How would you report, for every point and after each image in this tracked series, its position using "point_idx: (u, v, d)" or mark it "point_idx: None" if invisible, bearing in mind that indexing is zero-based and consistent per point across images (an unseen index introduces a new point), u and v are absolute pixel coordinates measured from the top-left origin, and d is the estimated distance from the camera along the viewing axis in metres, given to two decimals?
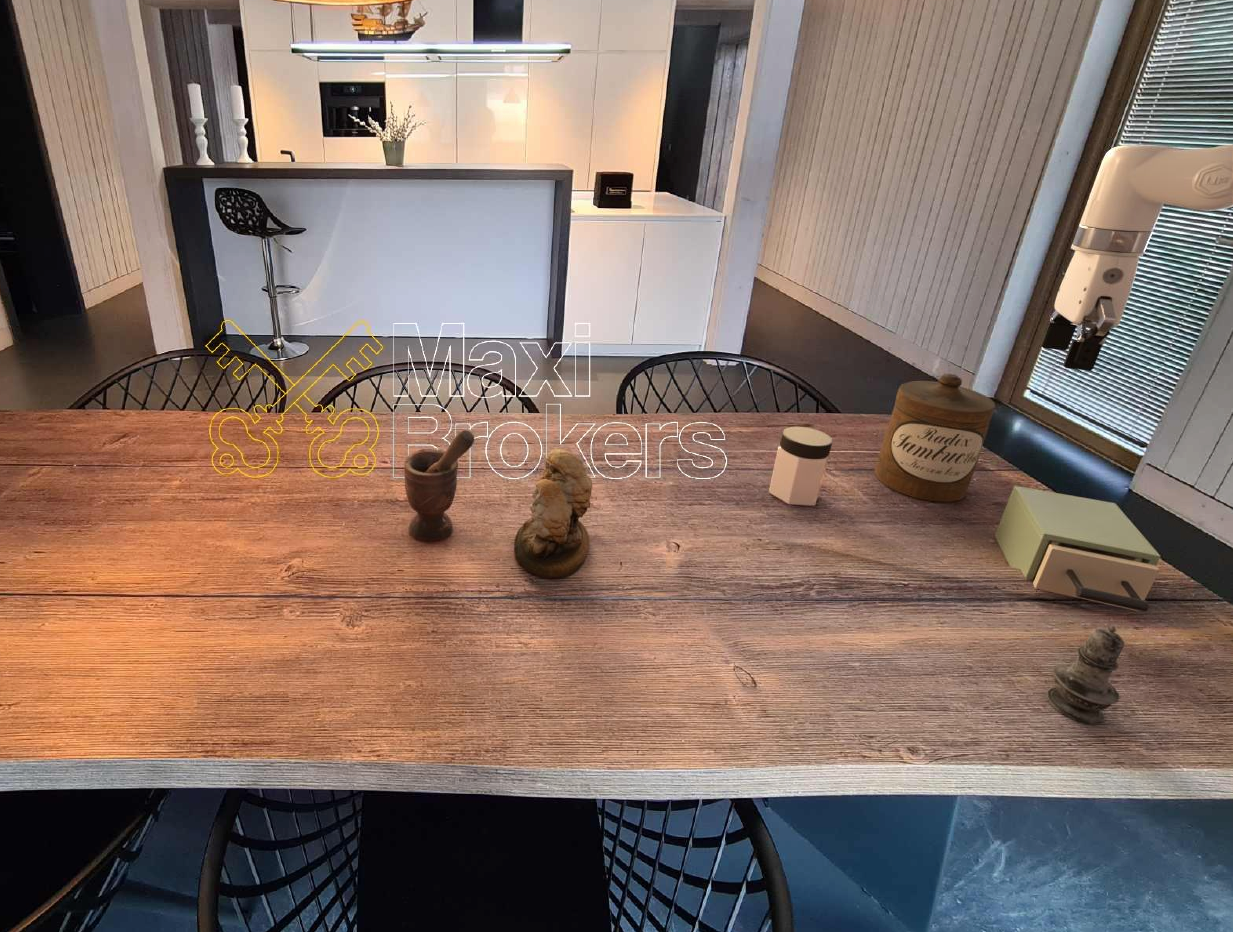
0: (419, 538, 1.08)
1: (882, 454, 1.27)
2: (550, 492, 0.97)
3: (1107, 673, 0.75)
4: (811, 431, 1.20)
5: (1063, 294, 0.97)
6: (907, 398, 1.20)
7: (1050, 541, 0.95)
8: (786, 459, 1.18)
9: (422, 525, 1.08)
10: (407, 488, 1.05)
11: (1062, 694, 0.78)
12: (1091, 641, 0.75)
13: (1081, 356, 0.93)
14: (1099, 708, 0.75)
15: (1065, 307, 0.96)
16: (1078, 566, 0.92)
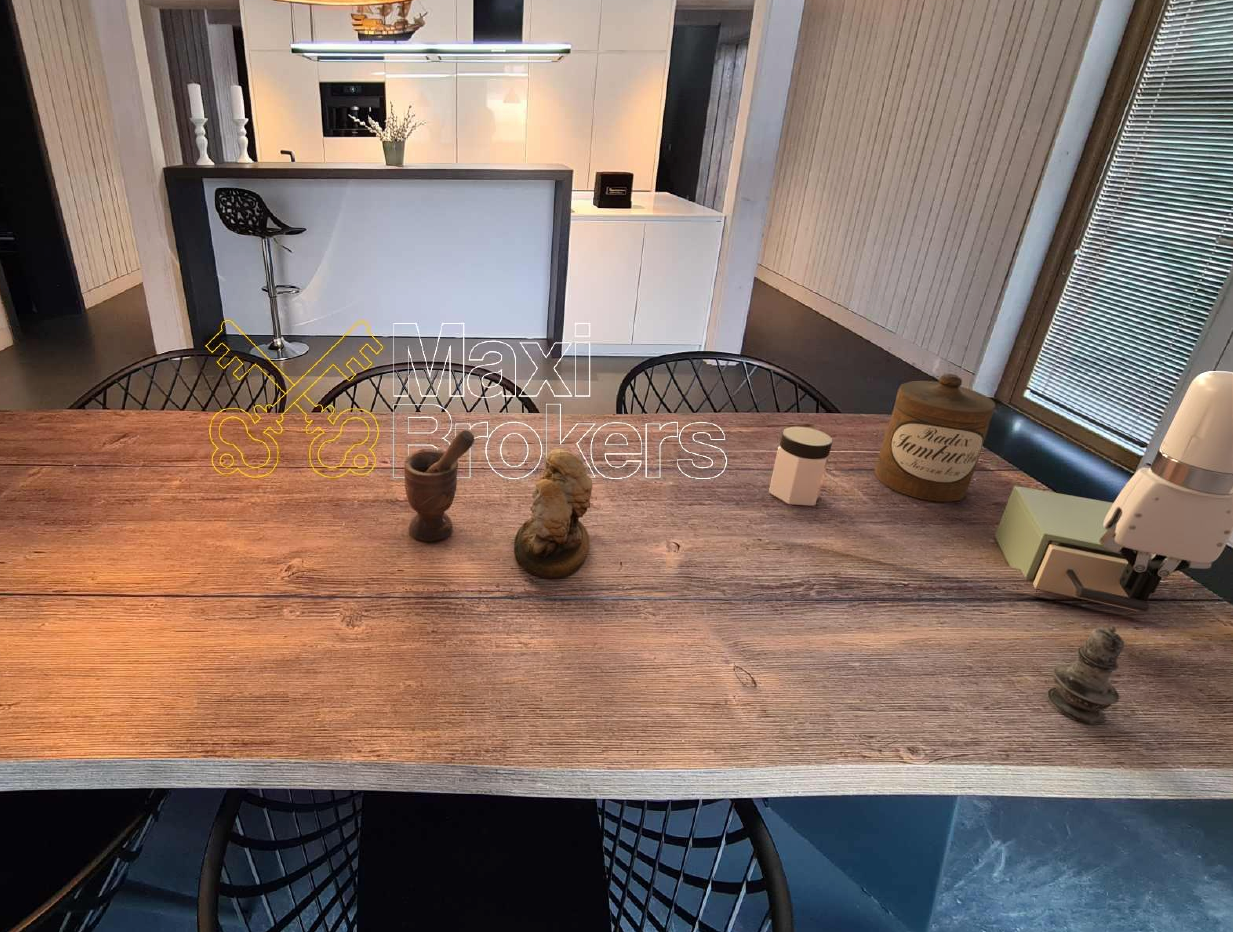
0: (419, 538, 1.08)
1: (882, 454, 1.27)
2: (550, 492, 0.97)
3: (1107, 673, 0.75)
4: (811, 431, 1.20)
5: (1158, 534, 0.83)
6: (907, 398, 1.20)
7: (1050, 541, 0.95)
8: (786, 459, 1.18)
9: (422, 525, 1.08)
10: (407, 488, 1.05)
11: (1062, 694, 0.78)
12: (1091, 641, 0.75)
13: (1155, 585, 0.86)
14: (1099, 708, 0.75)
15: (1172, 548, 0.83)
16: (1078, 566, 0.92)
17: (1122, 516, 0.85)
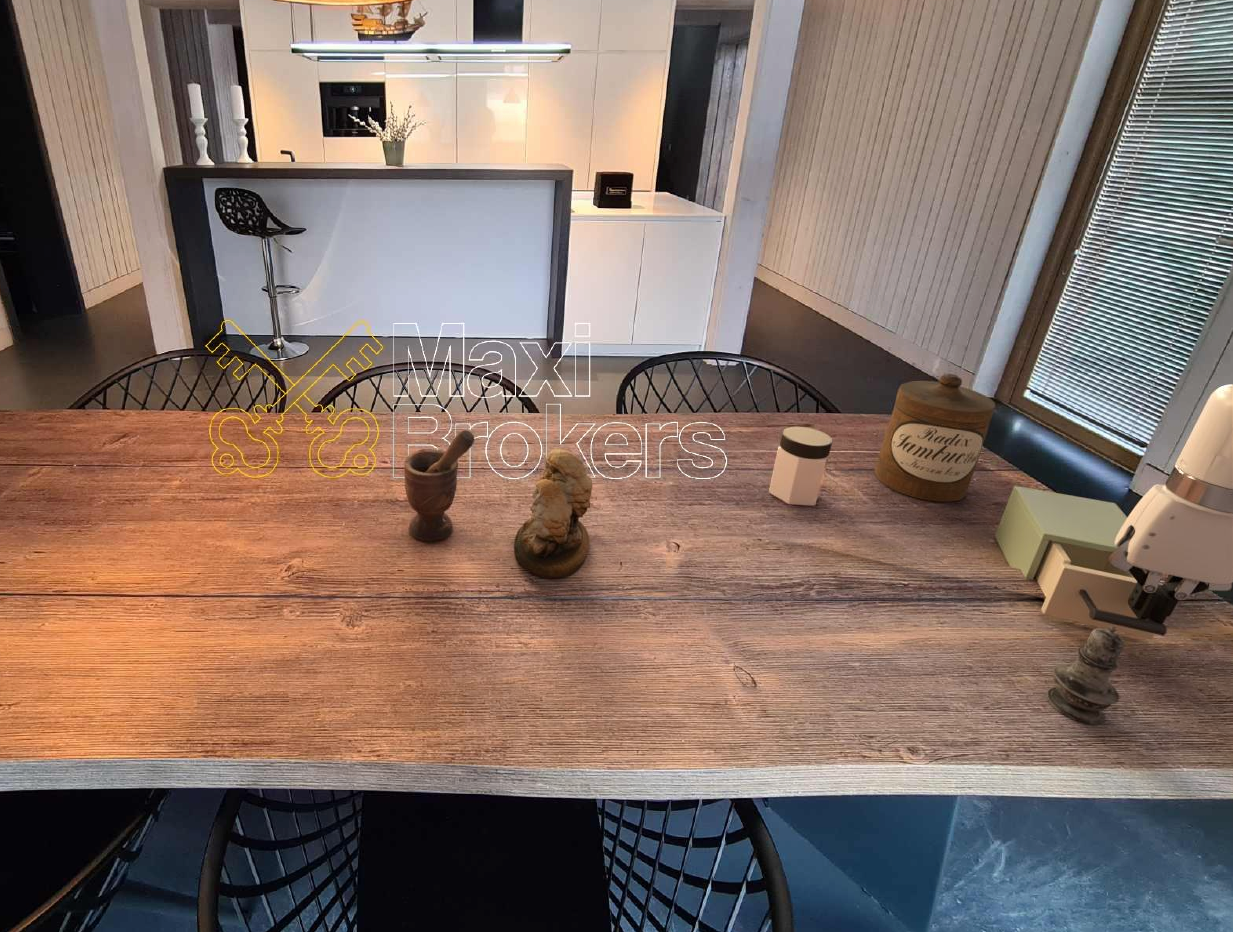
0: (419, 538, 1.08)
1: (882, 454, 1.27)
2: (550, 492, 0.97)
3: (1107, 673, 0.75)
4: (811, 431, 1.20)
5: (1173, 554, 0.79)
6: (907, 398, 1.20)
7: (1062, 559, 0.91)
8: (786, 459, 1.18)
9: (422, 525, 1.08)
10: (407, 488, 1.05)
11: (1062, 694, 0.78)
12: (1091, 641, 0.75)
13: (1171, 608, 0.83)
14: (1099, 708, 0.75)
15: (1188, 568, 0.79)
16: (1091, 586, 0.88)
17: (1135, 535, 0.81)
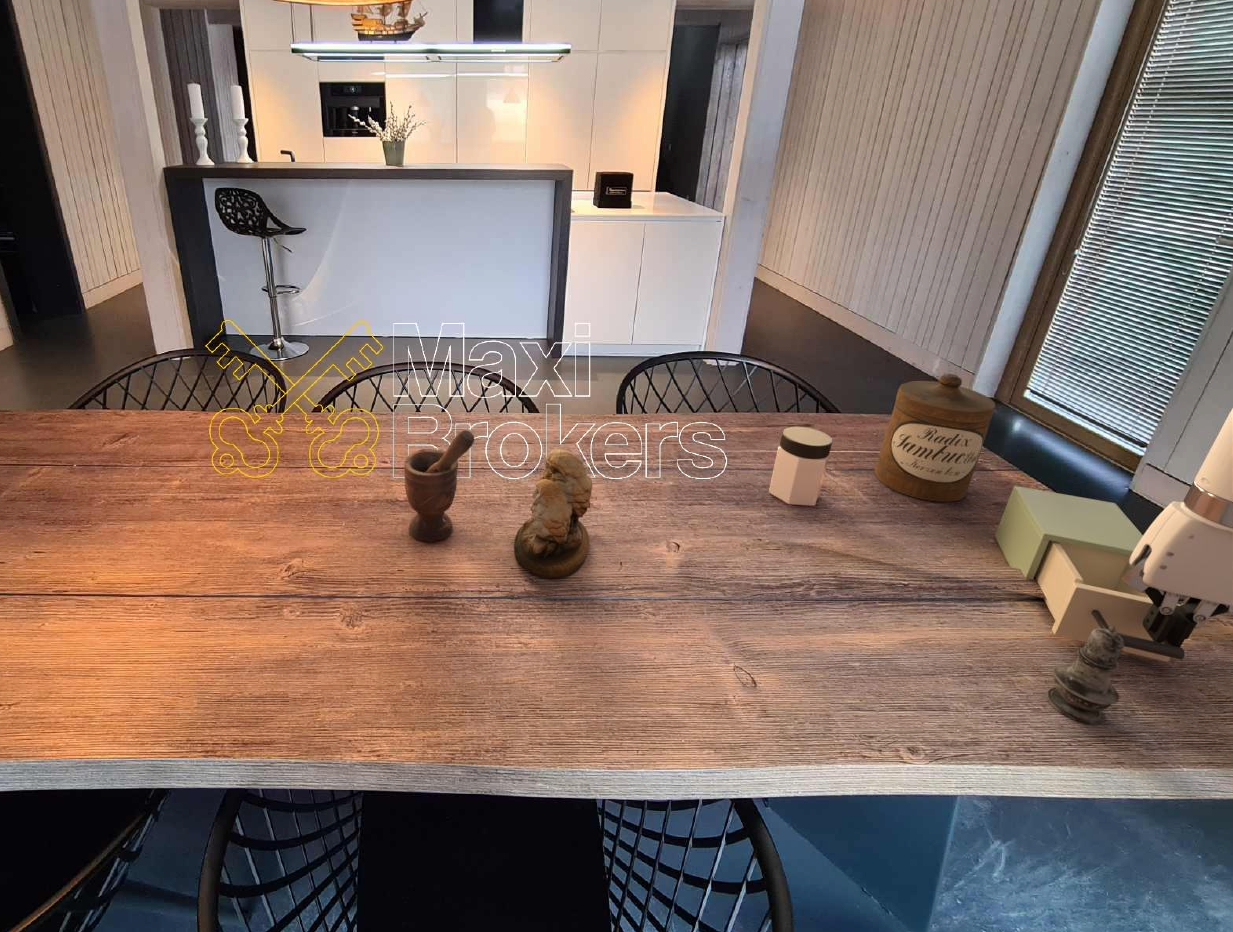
0: (419, 538, 1.08)
1: (882, 454, 1.27)
2: (550, 492, 0.97)
3: (1107, 673, 0.75)
4: (811, 431, 1.20)
5: (1192, 575, 0.75)
6: (907, 398, 1.20)
7: (1073, 578, 0.88)
8: (786, 459, 1.18)
9: (422, 525, 1.08)
10: (407, 488, 1.05)
11: (1062, 694, 0.78)
12: (1091, 641, 0.75)
13: (1189, 630, 0.79)
14: (1099, 708, 0.75)
15: (1207, 590, 0.75)
16: (1104, 606, 0.85)
17: (1152, 554, 0.77)
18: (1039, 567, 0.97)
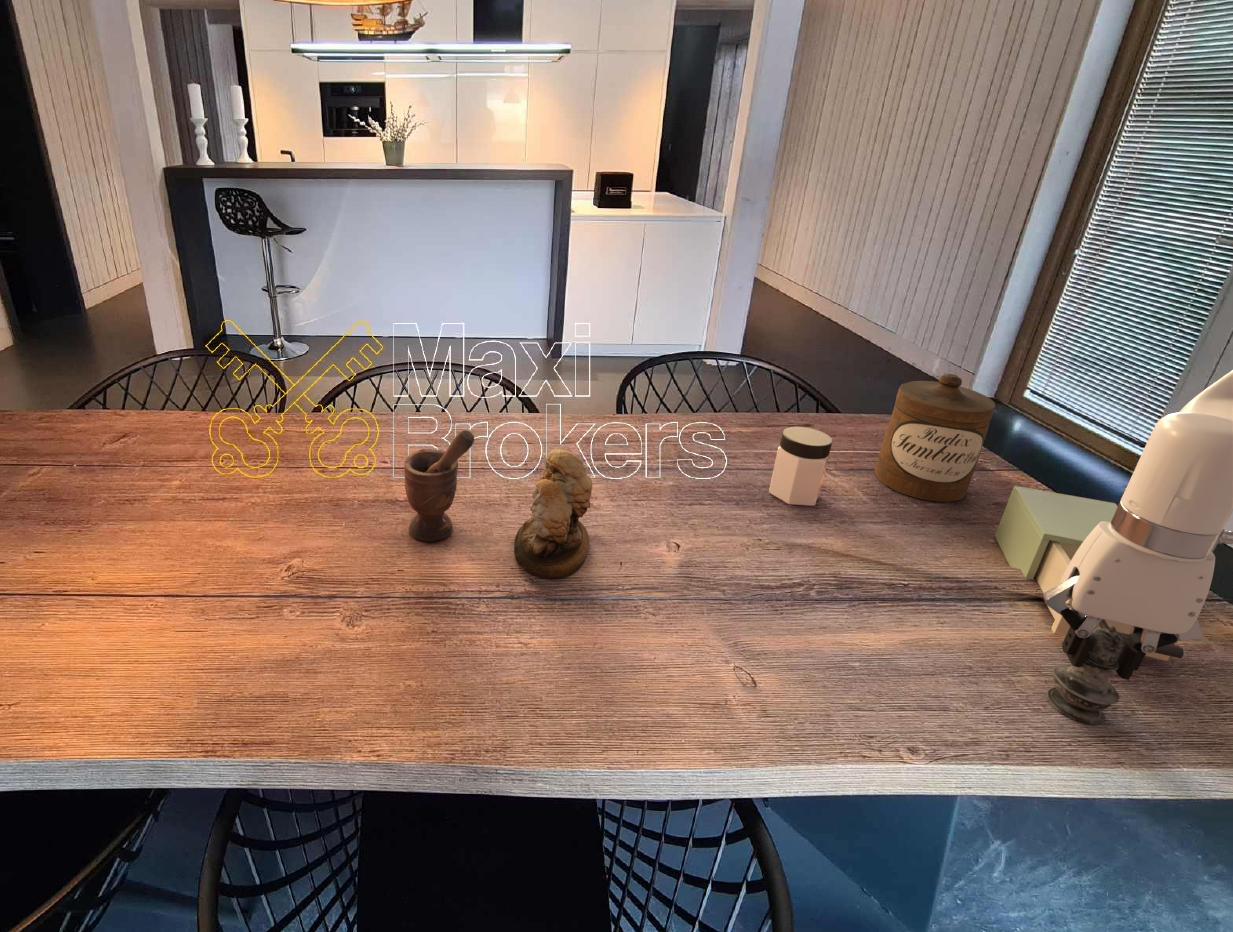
0: (419, 538, 1.08)
1: (882, 454, 1.27)
2: (550, 492, 0.97)
3: (1107, 673, 0.75)
4: (811, 431, 1.20)
5: (1121, 601, 0.71)
6: (907, 398, 1.20)
7: None
8: (786, 459, 1.18)
9: (422, 525, 1.08)
10: (407, 488, 1.05)
11: (1062, 694, 0.78)
12: None
13: (1139, 661, 0.74)
14: (1099, 708, 0.75)
15: (1137, 616, 0.71)
16: None
17: (1079, 578, 0.73)
18: (1039, 566, 0.97)
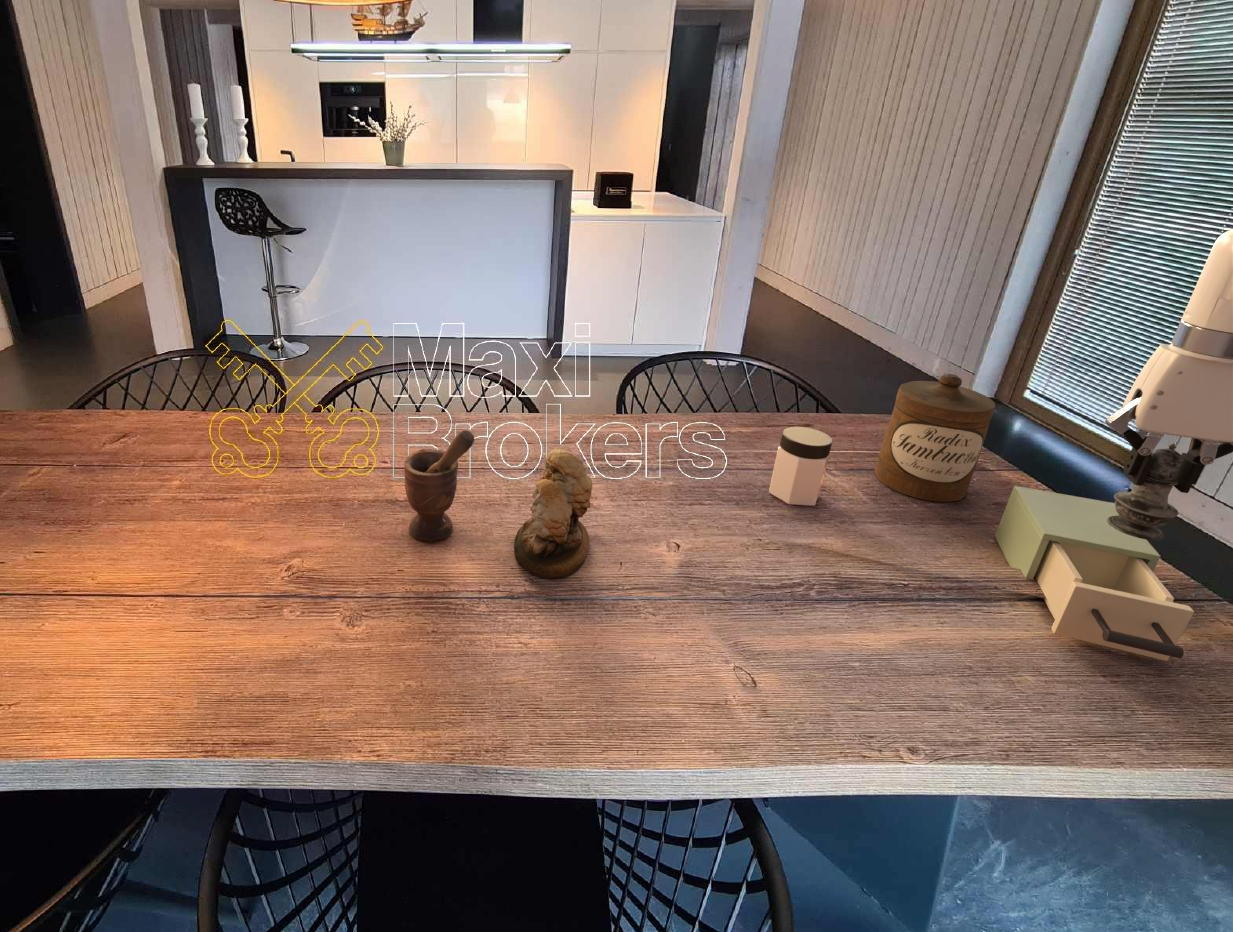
0: (419, 538, 1.08)
1: (882, 454, 1.27)
2: (550, 492, 0.97)
3: (1167, 489, 0.81)
4: (811, 431, 1.20)
5: (1182, 413, 0.77)
6: (907, 398, 1.20)
7: (1073, 577, 0.88)
8: (786, 459, 1.18)
9: (422, 525, 1.08)
10: (407, 488, 1.05)
11: (1124, 515, 0.83)
12: None
13: (1197, 475, 0.80)
14: (1160, 523, 0.81)
15: (1198, 427, 0.77)
16: (1104, 605, 0.85)
17: (1142, 397, 0.79)
18: (1039, 566, 0.97)
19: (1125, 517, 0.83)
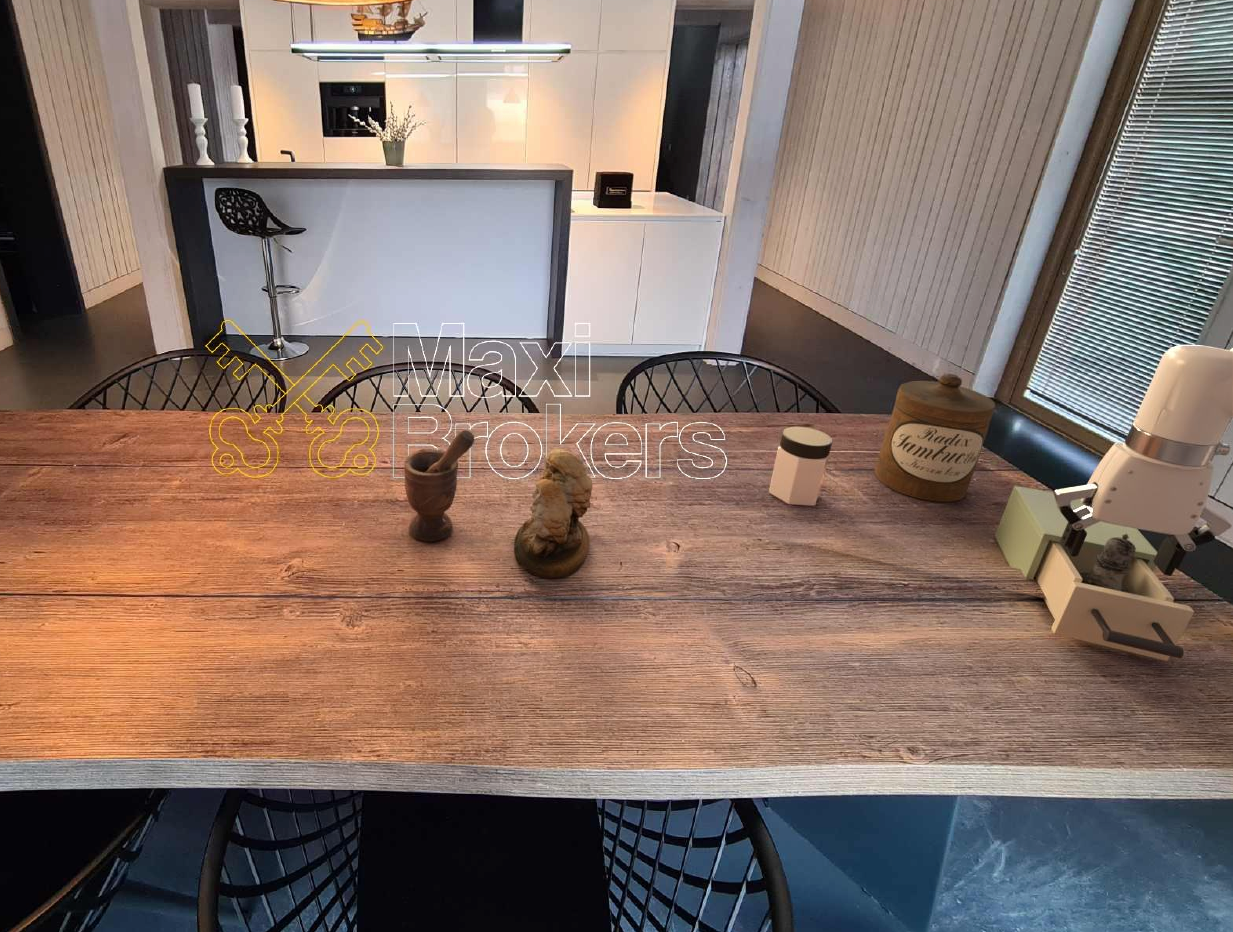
0: (419, 538, 1.08)
1: (882, 454, 1.27)
2: (550, 492, 0.97)
3: (1121, 574, 0.88)
4: (811, 431, 1.20)
5: (1133, 508, 0.84)
6: (907, 398, 1.20)
7: (1073, 577, 0.88)
8: (786, 459, 1.18)
9: (422, 525, 1.08)
10: (407, 488, 1.05)
11: None
12: (1107, 548, 0.88)
13: (1180, 559, 0.85)
14: None
15: (1148, 520, 0.84)
16: (1104, 605, 0.85)
17: (1098, 490, 0.86)
18: (1039, 566, 0.97)
19: None
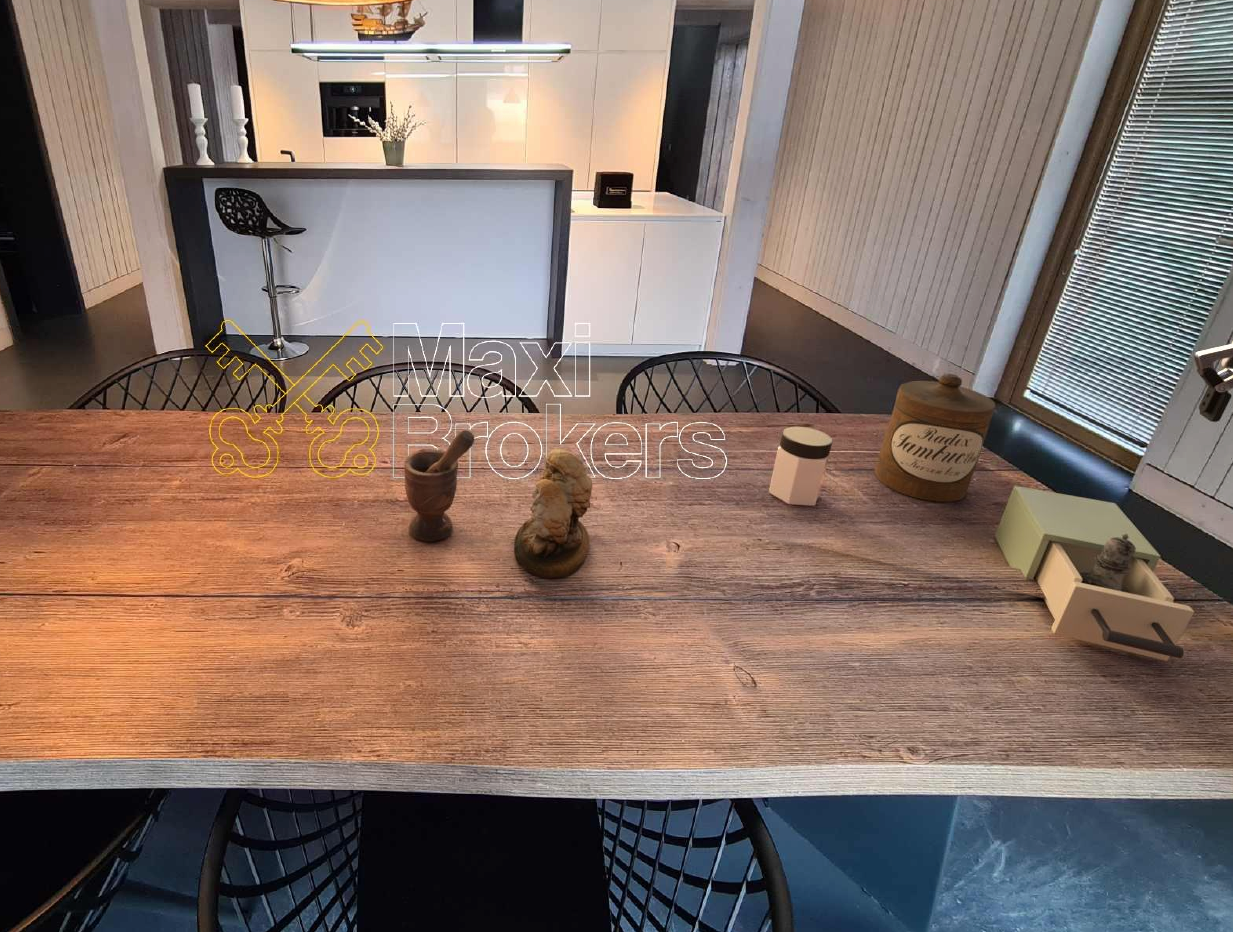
0: (419, 538, 1.08)
1: (882, 454, 1.27)
2: (550, 492, 0.97)
3: (1121, 574, 0.88)
4: (811, 431, 1.20)
5: None
6: (907, 398, 1.20)
7: (1073, 577, 0.88)
8: (786, 459, 1.18)
9: (422, 525, 1.08)
10: (407, 488, 1.05)
11: None
12: (1107, 548, 0.88)
13: None
14: None
15: None
16: (1104, 605, 0.85)
17: None
18: (1039, 566, 0.97)
19: None
